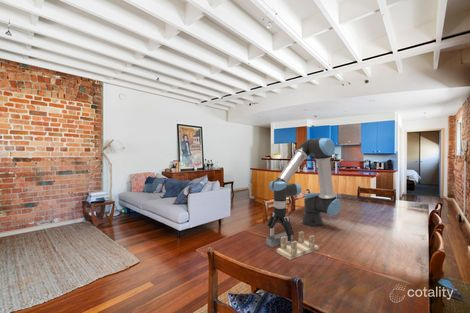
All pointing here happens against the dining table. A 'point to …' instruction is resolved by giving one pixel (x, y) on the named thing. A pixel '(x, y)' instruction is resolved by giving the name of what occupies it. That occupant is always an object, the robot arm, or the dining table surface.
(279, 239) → the bar
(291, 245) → the rack
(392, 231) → the dining table surface
